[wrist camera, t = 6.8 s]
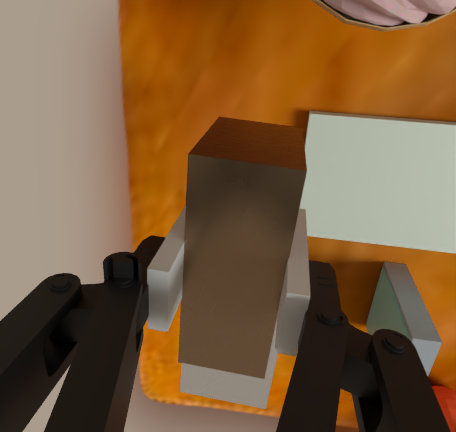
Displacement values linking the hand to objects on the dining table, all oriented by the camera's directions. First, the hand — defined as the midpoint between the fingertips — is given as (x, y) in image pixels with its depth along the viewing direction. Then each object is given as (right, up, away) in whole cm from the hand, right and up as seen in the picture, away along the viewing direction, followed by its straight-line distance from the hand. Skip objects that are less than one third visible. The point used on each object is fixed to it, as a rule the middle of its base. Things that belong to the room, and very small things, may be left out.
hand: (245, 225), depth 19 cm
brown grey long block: (0, -3, +4) cm, 5 cm away
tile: (+15, -7, +19) cm, 25 cm away
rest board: (+16, +3, +13) cm, 21 cm away
